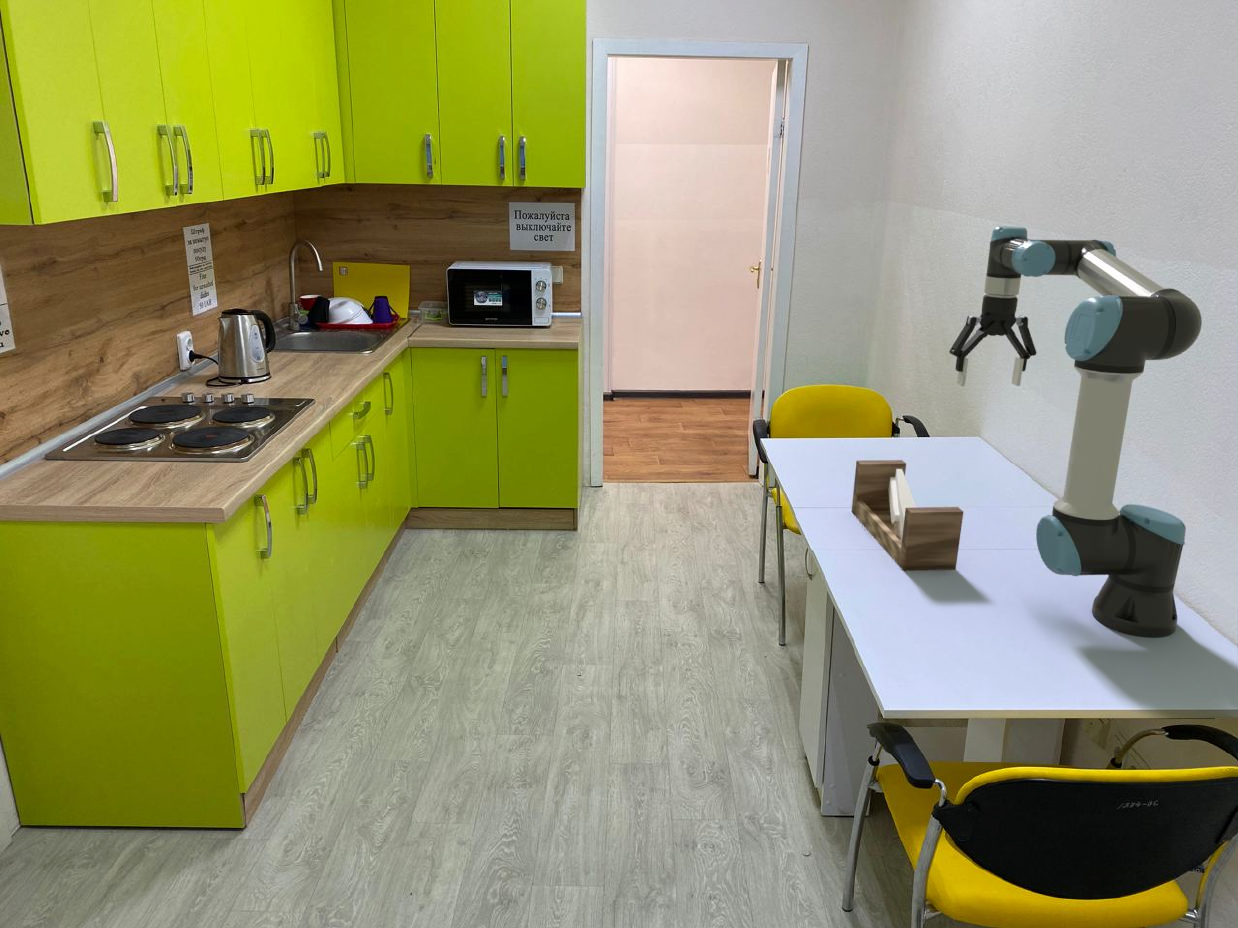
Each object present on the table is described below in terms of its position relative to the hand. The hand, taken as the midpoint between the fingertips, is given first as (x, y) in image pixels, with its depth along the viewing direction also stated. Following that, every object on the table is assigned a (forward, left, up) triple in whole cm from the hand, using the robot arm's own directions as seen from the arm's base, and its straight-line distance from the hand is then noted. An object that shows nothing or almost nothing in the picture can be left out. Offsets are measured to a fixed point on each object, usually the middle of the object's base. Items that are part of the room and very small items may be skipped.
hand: (988, 384), depth 228 cm
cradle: (-6, +20, -37) cm, 42 cm away
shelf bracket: (-4, +19, -36) cm, 41 cm away
